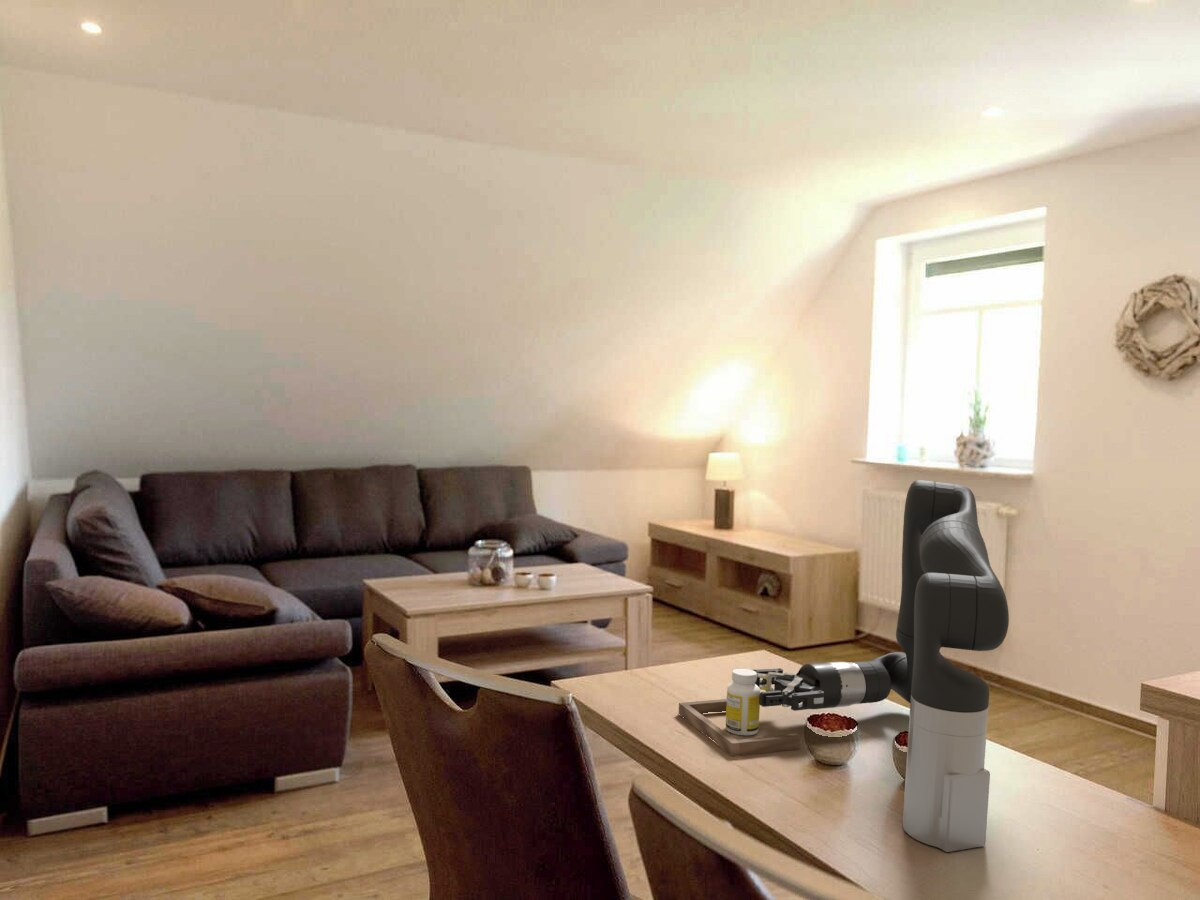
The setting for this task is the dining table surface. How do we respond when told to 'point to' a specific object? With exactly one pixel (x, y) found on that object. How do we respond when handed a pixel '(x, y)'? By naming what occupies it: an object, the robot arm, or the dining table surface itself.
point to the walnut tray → (725, 741)
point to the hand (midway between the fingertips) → (747, 691)
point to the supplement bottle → (743, 703)
